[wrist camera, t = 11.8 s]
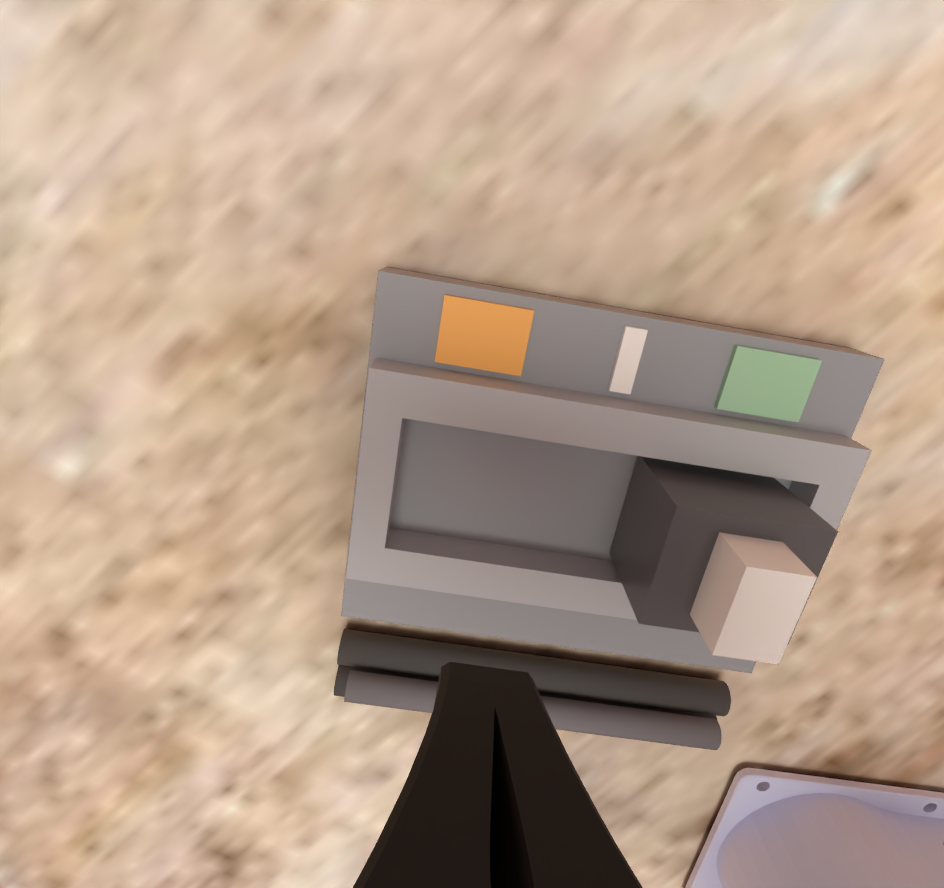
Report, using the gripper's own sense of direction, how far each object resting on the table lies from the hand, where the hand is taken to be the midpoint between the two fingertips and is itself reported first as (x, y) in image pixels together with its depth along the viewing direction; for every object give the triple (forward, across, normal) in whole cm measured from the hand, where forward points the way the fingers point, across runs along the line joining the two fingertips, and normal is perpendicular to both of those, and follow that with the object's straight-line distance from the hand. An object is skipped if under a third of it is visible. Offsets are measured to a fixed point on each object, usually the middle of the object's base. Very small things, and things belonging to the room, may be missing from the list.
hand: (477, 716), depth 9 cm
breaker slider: (+9, -7, 0) cm, 11 cm away
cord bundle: (+10, -4, +8) cm, 13 cm away
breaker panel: (+10, -4, 0) cm, 11 cm away
